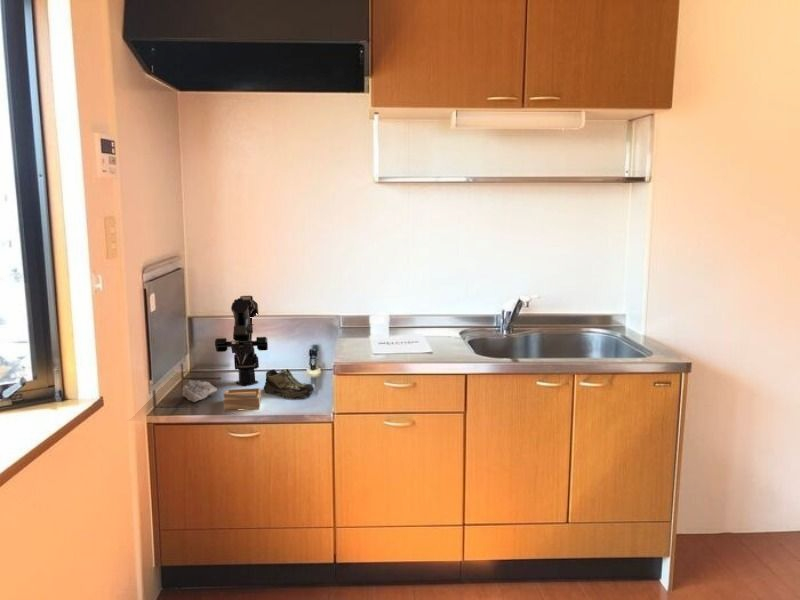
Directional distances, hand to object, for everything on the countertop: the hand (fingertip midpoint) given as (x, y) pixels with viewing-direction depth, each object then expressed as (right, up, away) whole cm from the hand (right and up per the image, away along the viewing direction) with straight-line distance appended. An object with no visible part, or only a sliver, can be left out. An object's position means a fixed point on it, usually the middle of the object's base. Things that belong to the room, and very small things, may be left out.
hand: (241, 364), depth 245 cm
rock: (-17, -13, +5) cm, 22 cm away
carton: (+1, -14, -3) cm, 15 cm away
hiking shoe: (+15, -12, +10) cm, 22 cm away
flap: (+3, -9, -12) cm, 16 cm away
